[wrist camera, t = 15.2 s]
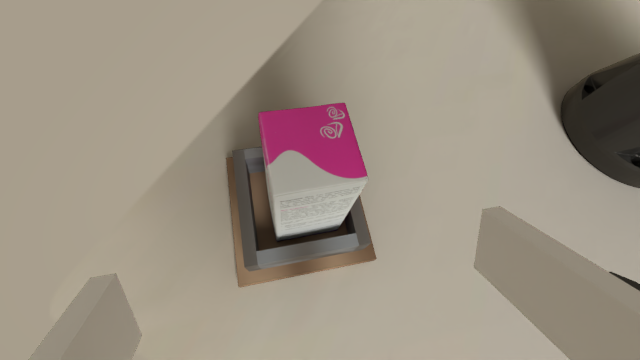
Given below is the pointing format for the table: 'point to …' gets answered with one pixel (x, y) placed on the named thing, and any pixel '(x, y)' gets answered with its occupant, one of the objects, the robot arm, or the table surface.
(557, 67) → the table surface
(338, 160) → the supplement box
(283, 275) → the socket
